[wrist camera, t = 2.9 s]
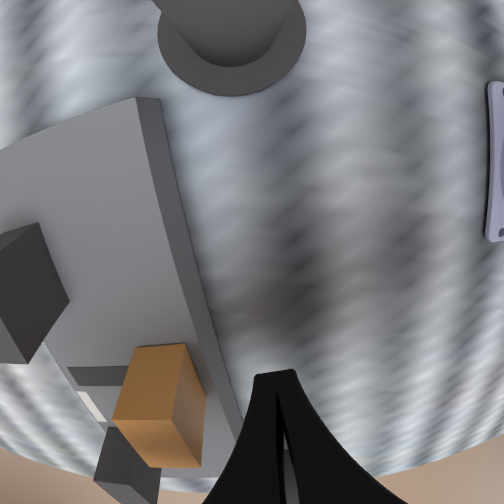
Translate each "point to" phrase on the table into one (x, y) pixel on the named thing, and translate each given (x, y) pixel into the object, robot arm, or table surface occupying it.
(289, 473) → the post
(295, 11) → the grey disc-based knob
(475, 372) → the table surface
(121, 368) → the box
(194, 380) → the switch
